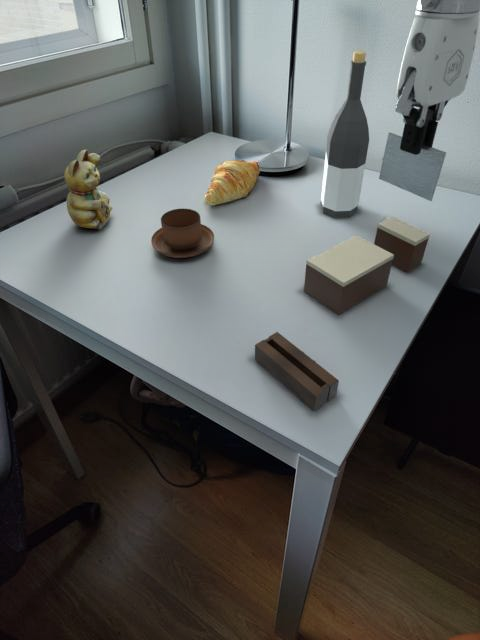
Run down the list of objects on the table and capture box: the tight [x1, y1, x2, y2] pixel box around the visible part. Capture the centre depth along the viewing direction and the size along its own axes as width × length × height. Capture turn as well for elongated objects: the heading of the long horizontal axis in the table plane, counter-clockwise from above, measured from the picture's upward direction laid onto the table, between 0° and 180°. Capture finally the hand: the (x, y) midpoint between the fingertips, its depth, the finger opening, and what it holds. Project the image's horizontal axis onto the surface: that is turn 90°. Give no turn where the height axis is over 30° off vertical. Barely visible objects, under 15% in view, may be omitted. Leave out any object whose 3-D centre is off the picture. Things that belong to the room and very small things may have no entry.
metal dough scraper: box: [378, 107, 447, 202], centre depth 69 cm, size 10×2×12 cm, turn 38°
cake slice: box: [373, 216, 431, 274], centre depth 83 cm, size 8×4×6 cm, turn 38°
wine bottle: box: [320, 50, 370, 219], centre depth 90 cm, size 8×8×30 cm
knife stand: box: [254, 331, 340, 412], centre depth 63 cm, size 12×4×3 cm, turn 38°
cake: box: [303, 234, 394, 316], centre depth 77 cm, size 8×12×6 cm, turn 128°
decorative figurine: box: [63, 149, 113, 231], centre depth 92 cm, size 10×8×15 cm
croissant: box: [204, 159, 261, 206], centre depth 105 cm, size 21×10×8 cm, turn 149°
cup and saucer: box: [150, 208, 215, 259], centre depth 88 cm, size 12×12×6 cm
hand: (415, 148), depth 69 cm, fingers closed on metal dough scraper, 2 cm apart
